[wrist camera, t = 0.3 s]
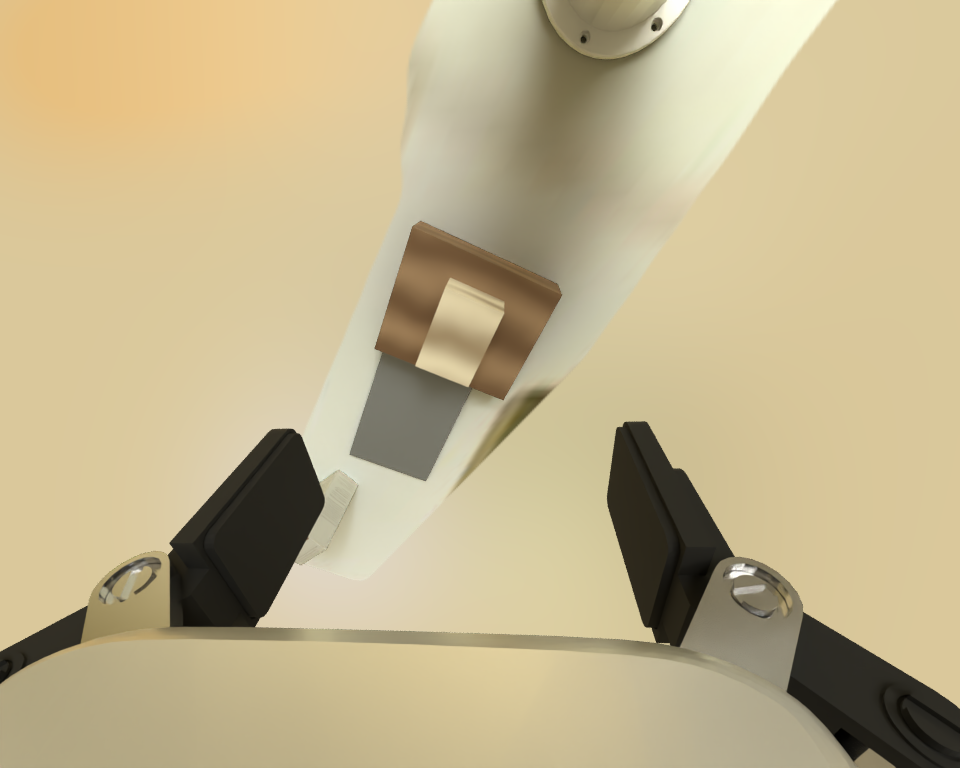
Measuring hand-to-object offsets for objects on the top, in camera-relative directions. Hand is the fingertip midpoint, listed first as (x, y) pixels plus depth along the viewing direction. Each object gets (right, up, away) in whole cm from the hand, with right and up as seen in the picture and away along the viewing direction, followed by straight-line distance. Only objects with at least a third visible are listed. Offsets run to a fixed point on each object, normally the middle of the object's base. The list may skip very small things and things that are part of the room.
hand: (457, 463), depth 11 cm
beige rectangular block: (-1, +8, +29) cm, 30 cm away
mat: (-9, -2, +41) cm, 42 cm away
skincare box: (-22, -13, +48) cm, 55 cm away
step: (-1, +11, +32) cm, 34 cm away
